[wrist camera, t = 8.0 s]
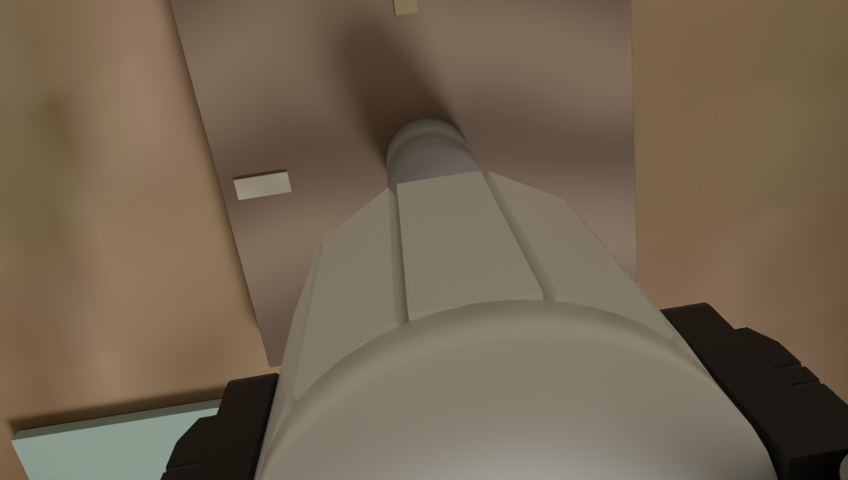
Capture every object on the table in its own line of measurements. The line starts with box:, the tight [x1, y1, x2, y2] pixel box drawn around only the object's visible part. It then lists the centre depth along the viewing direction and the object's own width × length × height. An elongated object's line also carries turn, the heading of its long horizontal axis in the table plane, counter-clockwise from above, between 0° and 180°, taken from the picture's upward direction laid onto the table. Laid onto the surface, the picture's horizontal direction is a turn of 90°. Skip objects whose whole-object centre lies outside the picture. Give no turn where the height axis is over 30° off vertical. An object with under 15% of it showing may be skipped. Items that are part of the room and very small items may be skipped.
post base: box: [170, 0, 637, 367], centre depth 21 cm, size 14×14×6 cm
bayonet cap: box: [253, 171, 778, 480], centre depth 10 cm, size 6×6×6 cm
